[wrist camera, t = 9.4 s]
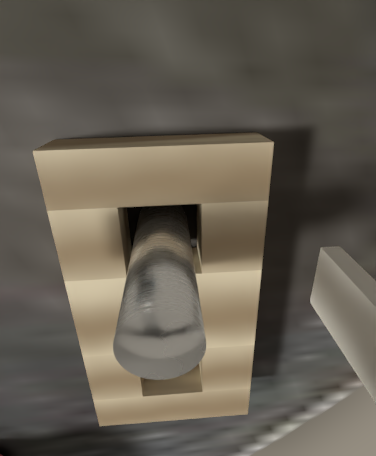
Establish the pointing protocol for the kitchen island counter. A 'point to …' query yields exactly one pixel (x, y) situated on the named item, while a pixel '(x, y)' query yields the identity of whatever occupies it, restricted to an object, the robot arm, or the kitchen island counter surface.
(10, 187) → the kitchen island counter surface
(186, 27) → the kitchen island counter surface
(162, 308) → the peg
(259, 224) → the hole block
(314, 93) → the kitchen island counter surface
